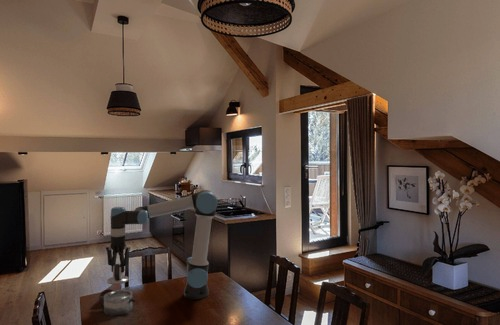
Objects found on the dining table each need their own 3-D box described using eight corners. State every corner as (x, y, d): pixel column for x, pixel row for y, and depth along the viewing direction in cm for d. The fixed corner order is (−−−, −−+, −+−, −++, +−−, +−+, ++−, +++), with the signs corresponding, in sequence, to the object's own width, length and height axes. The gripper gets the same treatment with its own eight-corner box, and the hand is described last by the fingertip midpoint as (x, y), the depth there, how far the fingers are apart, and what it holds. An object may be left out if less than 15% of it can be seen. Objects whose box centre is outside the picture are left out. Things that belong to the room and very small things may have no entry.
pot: (142, 305, 196) (142, 291, 195) (129, 316, 181) (129, 301, 181) (108, 303, 199) (108, 288, 199) (92, 314, 184) (92, 298, 184)
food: (116, 305, 197) (116, 289, 197) (99, 306, 195) (98, 290, 195) (122, 290, 217) (122, 276, 217) (107, 292, 216) (106, 277, 216)
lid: (132, 278, 194) (132, 262, 194) (122, 285, 184) (122, 268, 184) (114, 276, 196) (114, 261, 196) (103, 283, 185) (103, 267, 185)
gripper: (135, 234, 192) (135, 276, 192) (108, 233, 195) (108, 274, 195) (128, 237, 185) (128, 281, 185) (100, 236, 187) (100, 279, 187)
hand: (118, 277), depth 190 cm, fingers closed on lid, 3 cm apart
